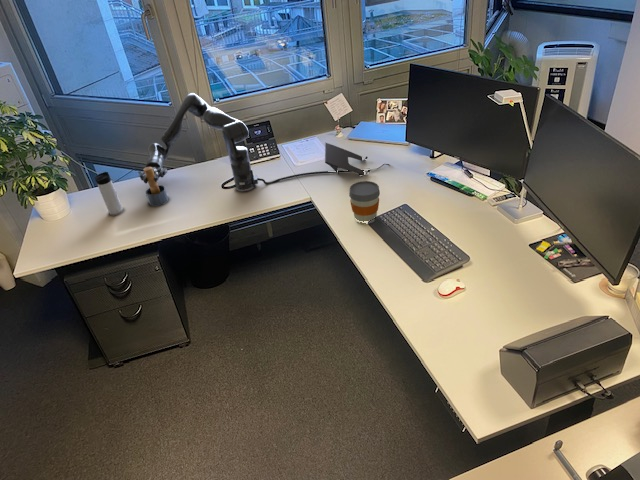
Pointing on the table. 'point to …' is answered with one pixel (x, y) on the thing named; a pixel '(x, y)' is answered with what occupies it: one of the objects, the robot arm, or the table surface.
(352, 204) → the reusable coffee cup
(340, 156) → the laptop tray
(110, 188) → the travel mug
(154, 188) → the wooden rod
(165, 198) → the pen cup
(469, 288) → the table surface
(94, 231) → the table surface
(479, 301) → the table surface
